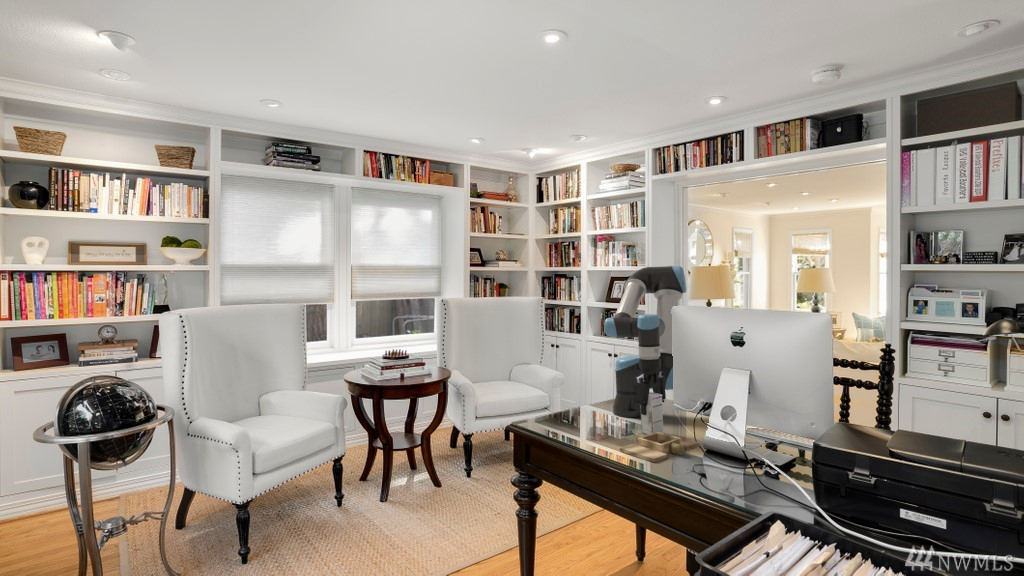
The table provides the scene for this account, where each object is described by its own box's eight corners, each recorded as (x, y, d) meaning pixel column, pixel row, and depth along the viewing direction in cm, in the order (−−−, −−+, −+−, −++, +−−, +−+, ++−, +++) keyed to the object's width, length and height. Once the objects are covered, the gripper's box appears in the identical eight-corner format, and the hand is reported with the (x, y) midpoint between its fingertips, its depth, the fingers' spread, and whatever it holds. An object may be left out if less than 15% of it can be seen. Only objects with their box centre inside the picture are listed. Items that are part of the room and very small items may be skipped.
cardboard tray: (615, 450, 177) (615, 439, 177) (660, 435, 190) (659, 425, 190) (658, 464, 163) (658, 452, 163) (703, 447, 176) (703, 436, 176)
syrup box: (664, 433, 192) (662, 393, 192) (652, 437, 189) (651, 396, 188) (651, 430, 197) (650, 391, 196) (640, 433, 193) (639, 393, 193)
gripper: (640, 362, 183) (642, 429, 184) (675, 355, 194) (677, 418, 195) (623, 360, 189) (626, 424, 190) (658, 353, 200) (660, 414, 201)
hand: (652, 421), depth 193 cm, fingers closed on syrup box, 6 cm apart
